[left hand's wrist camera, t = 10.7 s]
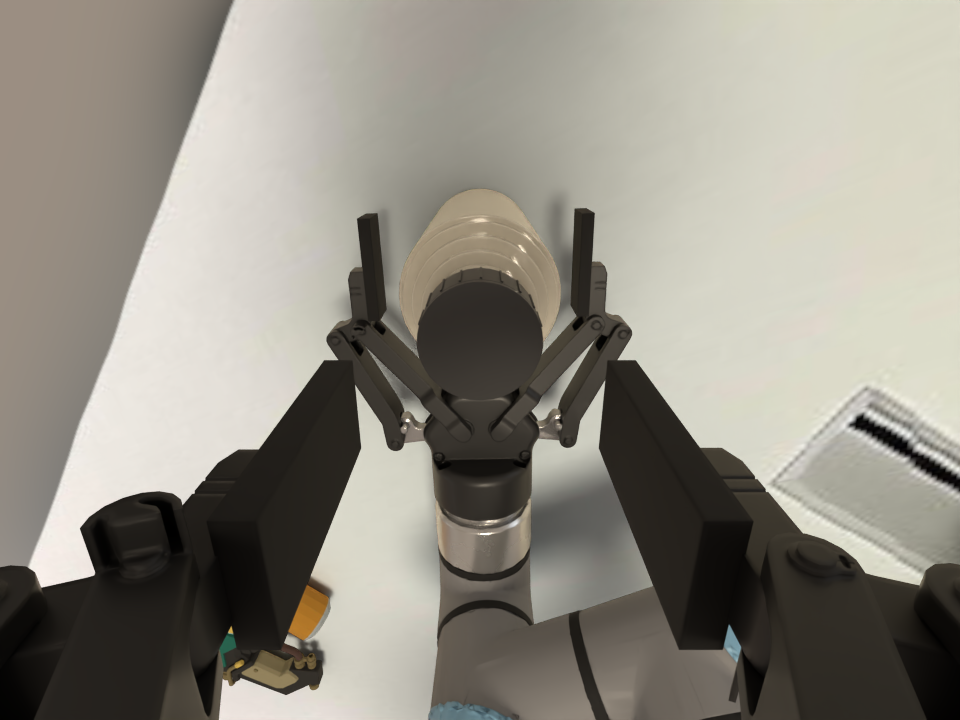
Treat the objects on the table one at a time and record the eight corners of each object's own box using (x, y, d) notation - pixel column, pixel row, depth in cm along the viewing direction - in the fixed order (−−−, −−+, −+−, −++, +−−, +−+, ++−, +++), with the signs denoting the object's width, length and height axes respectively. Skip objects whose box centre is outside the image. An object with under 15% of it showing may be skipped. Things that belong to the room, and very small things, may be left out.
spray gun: (321, 680, 59) (187, 644, 57) (355, 578, 52) (203, 534, 50) (307, 720, 55) (163, 682, 53) (342, 615, 48) (178, 568, 46)
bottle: (548, 216, 39) (623, 290, 19) (503, 306, 42) (526, 458, 21) (453, 170, 38) (423, 195, 18) (414, 266, 41) (346, 386, 20)
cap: (558, 295, 21) (567, 313, 19) (507, 393, 22) (510, 419, 20) (450, 246, 20) (446, 258, 18) (405, 350, 22) (396, 373, 19)
